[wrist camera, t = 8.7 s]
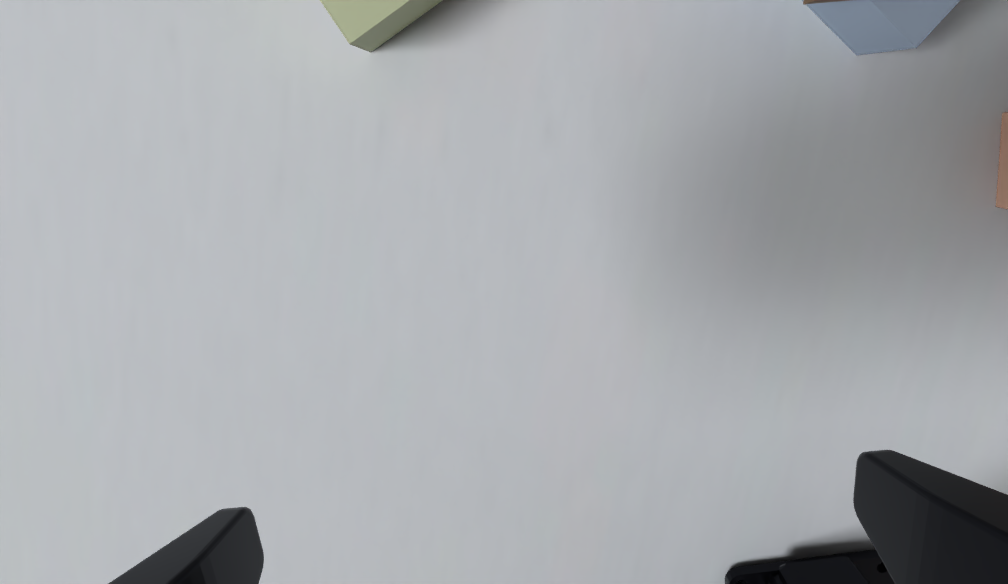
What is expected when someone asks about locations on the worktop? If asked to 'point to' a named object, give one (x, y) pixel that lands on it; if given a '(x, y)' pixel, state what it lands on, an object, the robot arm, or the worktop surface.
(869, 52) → the slate brick
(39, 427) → the worktop surface
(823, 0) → the walnut brick
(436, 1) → the olive brick
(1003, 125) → the terracotta brick
